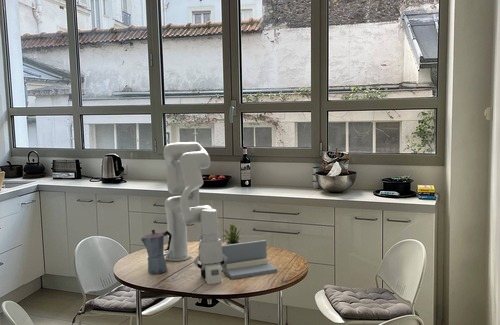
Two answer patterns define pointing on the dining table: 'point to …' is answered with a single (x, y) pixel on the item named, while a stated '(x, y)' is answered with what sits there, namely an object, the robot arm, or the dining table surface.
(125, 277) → the dining table surface
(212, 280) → the cream rectangular block
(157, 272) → the moka pot
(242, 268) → the cleat board
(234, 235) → the house plant
